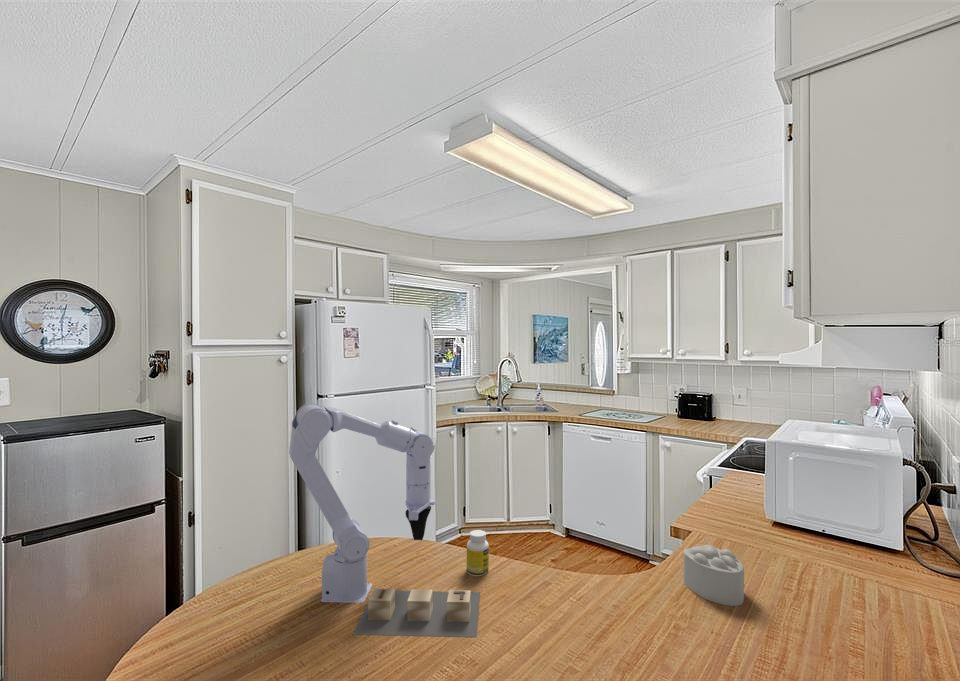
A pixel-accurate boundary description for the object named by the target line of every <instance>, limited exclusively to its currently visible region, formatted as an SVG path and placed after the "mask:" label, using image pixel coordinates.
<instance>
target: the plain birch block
mask: <svg viewBox="0 0 960 681" xmlns="http://www.w3.org/2000/svg"><path fill="white" fill-rule="evenodd" d="M433 590H434V589H424V588H423V589H421V588H420V589H417V588H415V589H413V588H412V589H411V590H410V591H411V592H410V595H409V598H408V601H407V615H408V621H430V618H431V614H432V610H433Z"/></svg>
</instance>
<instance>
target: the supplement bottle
mask: <svg viewBox="0 0 960 681" xmlns="http://www.w3.org/2000/svg"><path fill="white" fill-rule="evenodd" d="M489 549H490V546H489V542H488V541H487V532H486V531H484V530H481V529H474V530H471V531H470V532H469V540H468V541H467V543H466V573H467V574H468V575H470V576H474V577H480V576H481V577H482V576H485V575H487V574H489V561H490V558H489V557H490V556H489V554H490V553H489V552H490V550H489Z"/></svg>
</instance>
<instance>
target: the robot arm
mask: <svg viewBox="0 0 960 681" xmlns="http://www.w3.org/2000/svg"><path fill="white" fill-rule="evenodd" d="M323 408H324V409H323ZM345 429H346V430H349V431H352V432H355V433H358V434H362V435H366V436H369V437H373V438H375V440H376V443H377V445H379V446H382V447H385V448H388V449H391V450H395V451H397V452H400V453H406V463H405V465H406V466H405V469H406V476H405V478H406V481H405V482H406V486H405V487H406V488H405V489H406V490H405V491H406V493H405V494H406V500H405V507H406V511H405V517H406V519H407V520H408V523H409V525H410V529H411V533H412V538H413V541H423V540H424V536H425V531H426V527H427V526H426V525H427V522H428V521H427V520H428V517H429V515H430V512H431V510H432V506H434V505H436V499H433V498H431V456H432V454H433V453H434V451H435V444H434V442H433V440H432V438H431V436H429V435H428V434H426V433H424V432H422V431H419V430H418V429H416V428H415V427H413V426H412V427H406V426H403V425H402V424H399V421H397V420H395V419H392V420H391V421H389V420H386V421H383V422H381V423H377V422H374V421H372V420H369V419H368V418H364V417H361V416H358V415H356V414H353V413H351V412H348V411H346V410H344V409H339V408H336V407H331V406H326V405H323V406H320V405H319V404H318V403H315V402H314V403H313V402H311V403H310V402H309V403H305V404H303V405H301V406H300V407H299V409H298V410H297V411H296V413H295V415H294V417H293V419H292V421H291V431H290V442H289V450H288V451H289V452H288V453H289V457H290V459H291V460H292V462H293V464H294V466H295V468H296V470H297V471H298V473H299V475H300V476H301V478H302V480H303V482H304V483H305V485H306V487H307V488H308V490H309V492H310V494H311V496H312V497H313V500H314V501H315V502H316V504H317V506H318V507H319V509H320V511H321V513H322V514H323V516H324V518H325V519H326V521H327V523H328V525H329V526H330V529H331V530H332V540H333V542H334V543H335V544H336V549H335V551H334V553H329V554H327V555H326V556H325V558H324V560H323V563H322V569H321V600H320V602H322V603H350V604H351V603H352V604H353V603H359V604H361V603H365V600H366V599H367V596H368V595H369V592H370V590H371V589H372V587H373V583H368V552H369V549H370V540H369V537H368V535H366V534H365V533H364V531H363V530H362V528H361V526H360V524H359V523H358V522H357V521H356V520H354V519H353V518H351V516H350V514H349V512H348V510H347V509H346V507H345V505H344V504H343V502H342V500H341V497H339V495H338V493H337V491H336V489H335V488H334V485H333V484H332V482H331V481H330V479H329V477H328V475H327V474H326V472H325V470H324V467H322V465H321V463H320V461H319V459H318V457H317V456H316V453H317V450H318V448H319V446H320V443H321V442H322V441H323V440H324V438H325V437H326V436H327V435H328V434H329V432H330V431H331V432H332V433H336V432H339V431H341V430H345Z"/></svg>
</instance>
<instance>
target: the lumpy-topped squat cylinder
mask: <svg viewBox="0 0 960 681" xmlns="http://www.w3.org/2000/svg"><path fill="white" fill-rule="evenodd" d="M682 556H683V564H682V565H683V568H682V569H683V576H682V577H683V578H682V579H683V581H682V582H683V584H684V585H685V586H686V587H687V588H688V589H689V590H691V591H692V592H694V593H695V594H697V595H698V596H700V597H701V598H702V599H705V600H707V601H710V602H713V603H716V604H719V605H724V606H731V607H738V606H740V605H741V606H742V605H743V603H744V600H745V567H744V564H743V563H742V562H741V560H740V559H738V558H737V557H736V556H735V554H734V552H733V551H732V550H730V549H727V548H724V549H720V548H718V547H715V546H714V545H711V544H705V545H699V546H697V545H696V546H691V548H690V547H689V548H684V550H683V555H682Z"/></svg>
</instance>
